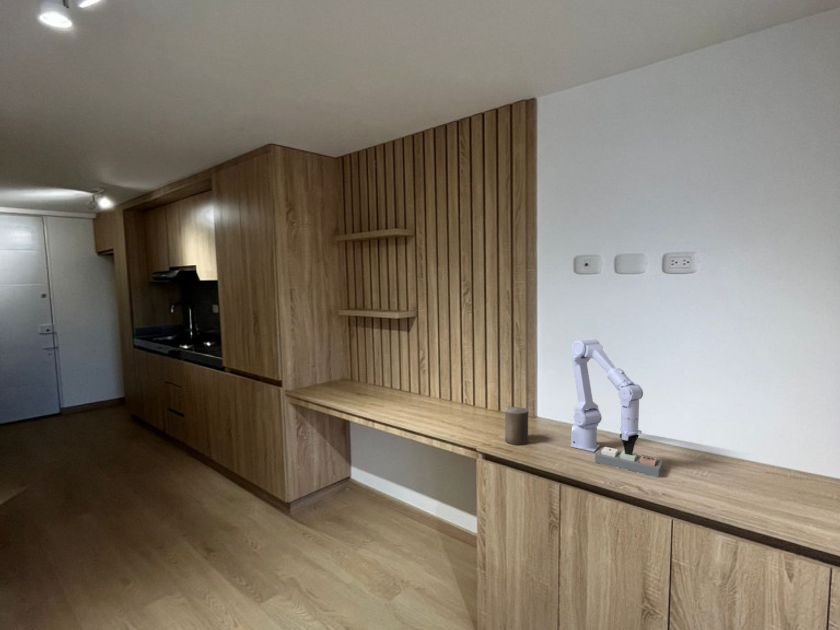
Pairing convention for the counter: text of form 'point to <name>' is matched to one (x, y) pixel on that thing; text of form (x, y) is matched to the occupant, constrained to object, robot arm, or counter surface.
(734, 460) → the counter surface
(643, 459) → the three-pip tile
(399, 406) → the counter surface
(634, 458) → the tile
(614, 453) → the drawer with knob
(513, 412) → the pillar candle
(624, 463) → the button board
